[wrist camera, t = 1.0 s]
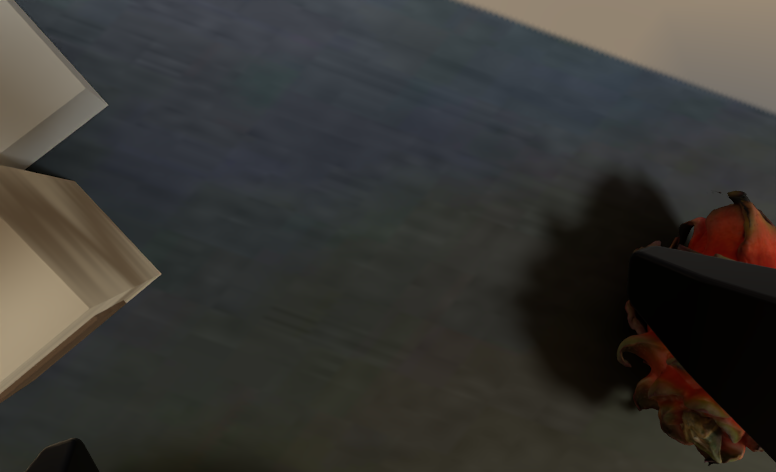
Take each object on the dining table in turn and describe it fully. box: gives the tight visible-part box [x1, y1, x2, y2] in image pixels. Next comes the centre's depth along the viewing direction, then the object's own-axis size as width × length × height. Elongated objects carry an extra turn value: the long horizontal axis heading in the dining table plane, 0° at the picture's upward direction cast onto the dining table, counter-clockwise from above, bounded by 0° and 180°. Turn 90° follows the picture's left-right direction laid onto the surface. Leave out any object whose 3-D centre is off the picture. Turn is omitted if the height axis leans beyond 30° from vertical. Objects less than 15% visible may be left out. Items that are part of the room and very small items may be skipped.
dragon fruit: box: [617, 191, 776, 466], centre depth 26 cm, size 8×8×12 cm
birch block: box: [0, 165, 161, 403], centre depth 18 cm, size 5×6×10 cm
